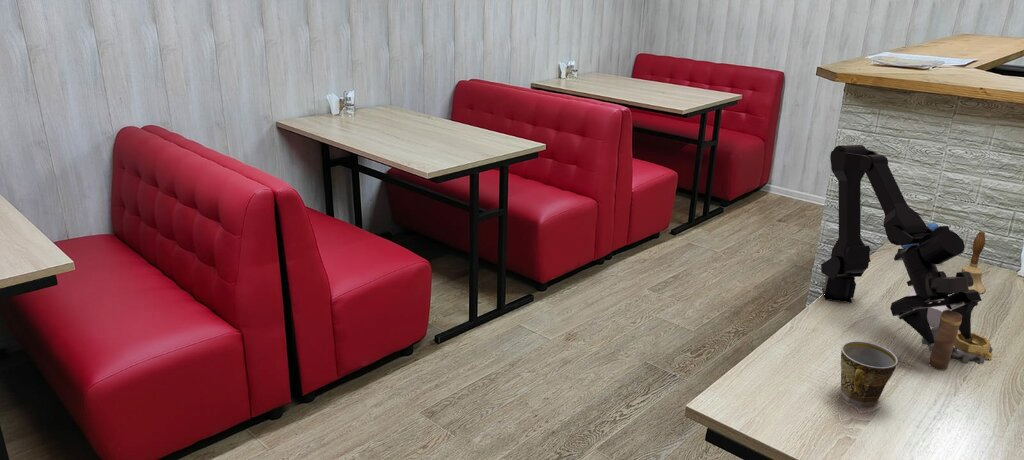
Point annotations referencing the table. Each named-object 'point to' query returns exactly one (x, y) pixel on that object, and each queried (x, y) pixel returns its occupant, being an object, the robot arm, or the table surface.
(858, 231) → the robot arm
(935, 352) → the peg
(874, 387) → the ceramic cup
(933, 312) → the charger
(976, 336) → the sprocket
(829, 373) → the table surface
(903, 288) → the table surface
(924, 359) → the table surface
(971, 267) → the hand bell
